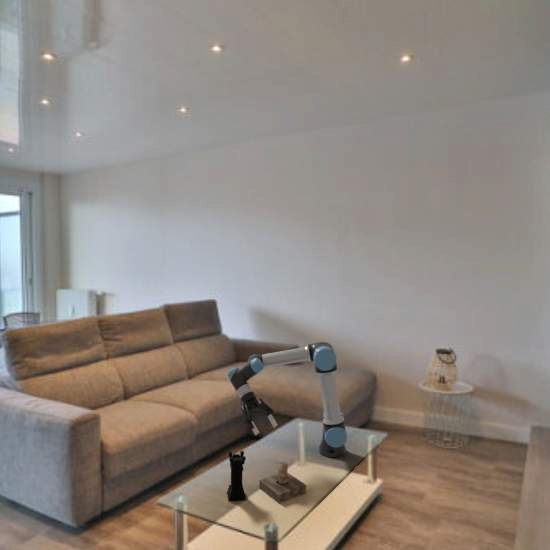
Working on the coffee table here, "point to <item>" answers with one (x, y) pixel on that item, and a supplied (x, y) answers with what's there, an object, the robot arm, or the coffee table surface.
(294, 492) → the walnut board
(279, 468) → the oak peg
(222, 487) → the coffee table surface
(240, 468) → the chess piece
